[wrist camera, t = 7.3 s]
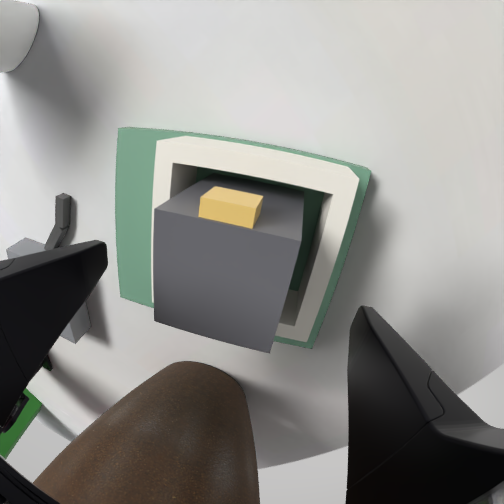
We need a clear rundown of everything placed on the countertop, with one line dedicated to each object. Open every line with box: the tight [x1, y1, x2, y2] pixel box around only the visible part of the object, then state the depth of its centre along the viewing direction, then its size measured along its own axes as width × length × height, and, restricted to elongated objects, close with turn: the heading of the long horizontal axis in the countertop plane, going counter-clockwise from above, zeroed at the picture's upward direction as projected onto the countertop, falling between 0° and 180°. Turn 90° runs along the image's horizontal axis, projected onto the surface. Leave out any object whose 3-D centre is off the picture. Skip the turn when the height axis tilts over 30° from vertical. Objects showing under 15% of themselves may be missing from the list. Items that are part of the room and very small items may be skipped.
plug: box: [153, 173, 304, 353], centre depth 12 cm, size 5×4×6 cm
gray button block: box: [6, 193, 91, 344], centre depth 19 cm, size 12×7×3 cm, turn 171°
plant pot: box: [33, 361, 260, 504], centre depth 15 cm, size 15×15×16 cm
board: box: [115, 127, 371, 349], centre depth 14 cm, size 11×13×4 cm
